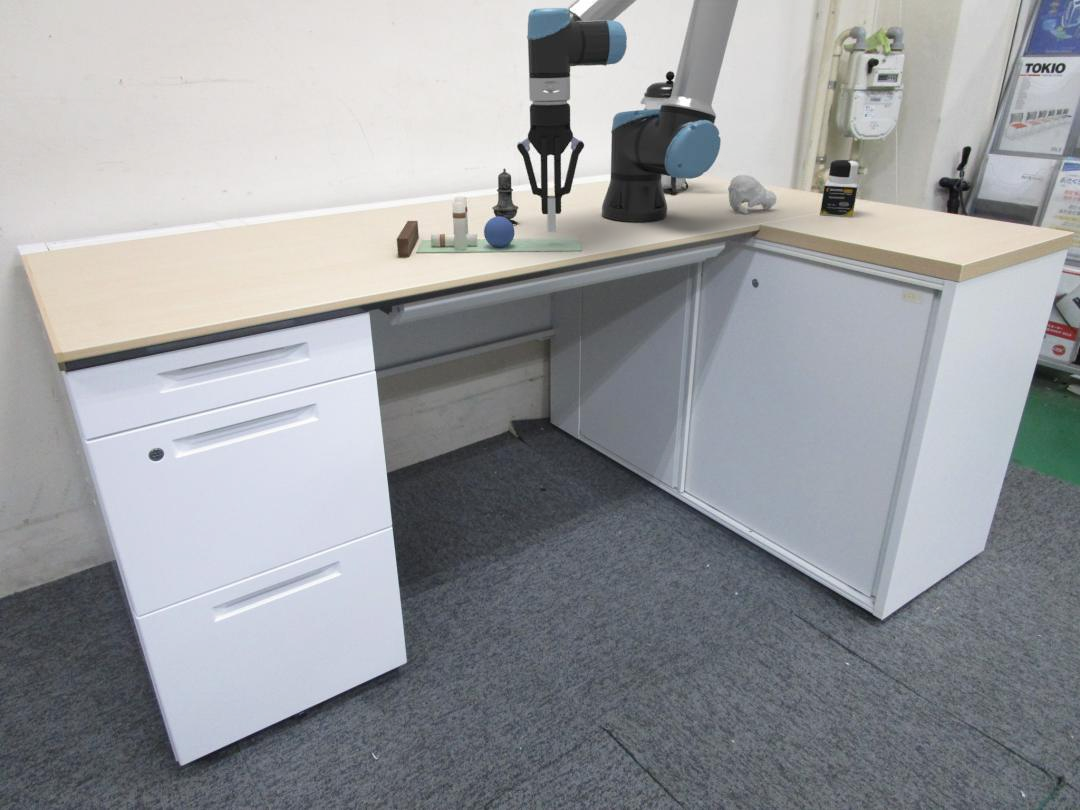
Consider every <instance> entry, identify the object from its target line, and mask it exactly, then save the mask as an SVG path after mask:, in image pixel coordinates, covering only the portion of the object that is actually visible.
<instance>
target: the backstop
mask: <svg viewBox="0 0 1080 810" xmlns="http://www.w3.org/2000/svg"><path fill="white" fill-rule="evenodd" d="M419 235H420V234H419V223H418V220H407V221H406V223H405V225H404V227H402V230H401V231H400V232H399V235H398V236H397V237H396V245H397V257H398V258H409V257H410V255H411V254H412V251H414V250H413V249H414V248H415V246H416V244H417V242H418V241H419V238H420V237H419Z"/></svg>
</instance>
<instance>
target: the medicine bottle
mask: <svg viewBox="0 0 1080 810" xmlns="http://www.w3.org/2000/svg"><path fill="white" fill-rule="evenodd" d="M829 167H830V168H829V174H828V179H826V181H825V183H824V187H823V193H822V200H821V204H820V205H821V206H820V211H819V214H820V216H827V217H841V218H842V217H843V218H853V216H854V209H855V206H856V198H857V193H858V188H859V187H858V186H859V182H858V181H857V176H858V171H859V167H860V164H859V162H857V161H855V160H849V159H836V160H833V161H832V162H830V166H829Z"/></svg>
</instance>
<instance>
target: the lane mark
mask: <svg viewBox="0 0 1080 810" xmlns="http://www.w3.org/2000/svg"><path fill="white" fill-rule="evenodd" d="M579 241H580V240H579V238H577V237H575V238H572V237H571V238H570V237H569V238H560V237H559V238H555V237H554V238H552V237H551V238H513V240H512V242H511V243H510V244H509V245H507V246H505V247H501V248H497V247H493V246H492V245H490V244H489V243H488V242H487V240H486V239H485V238H483V239H480V238H479V239H478V238H477V246H467V249H466V250H456V249H455V247H432V246H431V239H421V241H420V243H419V245H418V247H417V249H416V251H415V254H431V253H432V254H440V253H441V254H446V253H447V254H450V253H451V254H452V253H453V254H454V253H455V254H456V253H458V254H459V253H532V252H533V253H534V252H535V251H548V252H582V248H581V244H580V242H579Z"/></svg>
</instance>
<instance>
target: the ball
mask: <svg viewBox="0 0 1080 810" xmlns="http://www.w3.org/2000/svg"><path fill="white" fill-rule="evenodd" d="M483 236H484V239H486V240H487V242H488V243H489V244H490V245H492V246H493V247H497V248H501V247H505V246H507V245H509V244H510V243H511V242H512V240H513V239H515V228H514V225H512V223H511V222H510V221H509V220H508V219H507V218H504V217H500V216H498V217H496V216H494V217H492V218H489V220H488V221H487V222H486V223H485V225H484V227H483Z"/></svg>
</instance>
